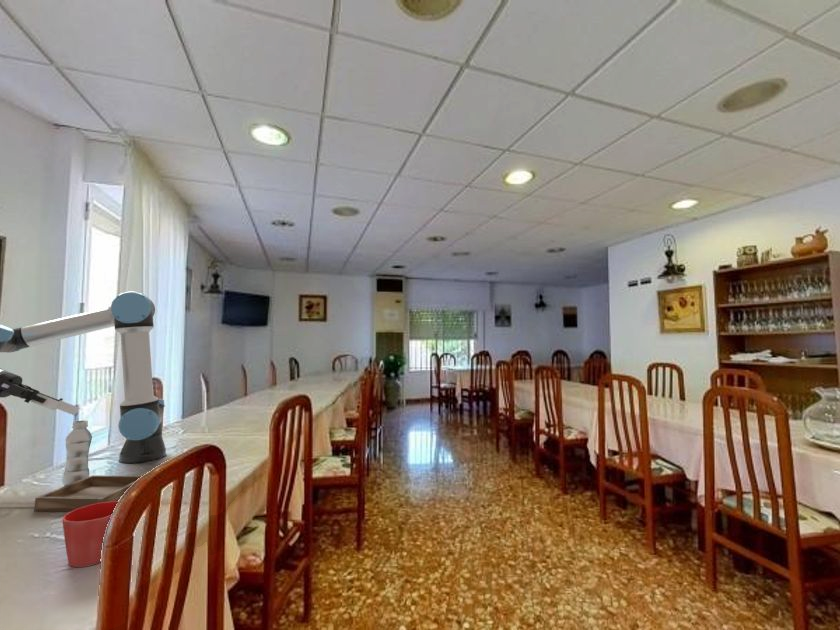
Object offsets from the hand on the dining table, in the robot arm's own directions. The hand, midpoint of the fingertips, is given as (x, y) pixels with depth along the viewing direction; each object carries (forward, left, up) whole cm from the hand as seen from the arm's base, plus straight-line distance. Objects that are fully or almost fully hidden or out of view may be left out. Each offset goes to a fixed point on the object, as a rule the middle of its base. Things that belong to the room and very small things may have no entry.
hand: (67, 408), depth 125 cm
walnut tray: (+12, +21, -24) cm, 34 cm away
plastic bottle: (+2, +6, -24) cm, 25 cm away
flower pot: (+42, +46, -24) cm, 67 cm away
